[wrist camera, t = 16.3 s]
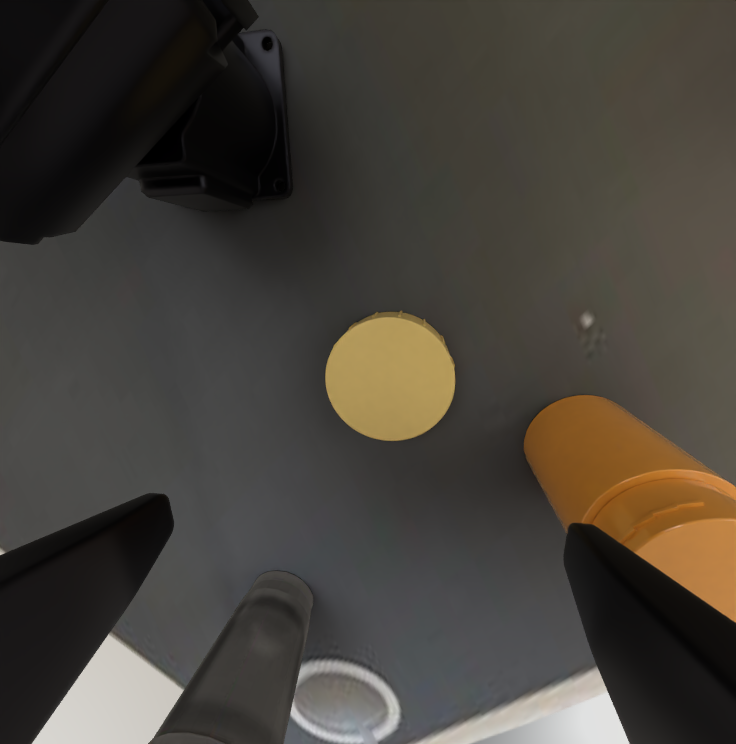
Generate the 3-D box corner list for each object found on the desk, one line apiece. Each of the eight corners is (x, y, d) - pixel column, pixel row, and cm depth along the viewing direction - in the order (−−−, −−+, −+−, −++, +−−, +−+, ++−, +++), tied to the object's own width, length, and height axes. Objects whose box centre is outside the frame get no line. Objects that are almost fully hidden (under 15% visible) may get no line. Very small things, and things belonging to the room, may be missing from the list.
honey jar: (528, 393, 18) (623, 503, 10) (646, 395, 18) (857, 517, 9) (518, 485, 20) (592, 647, 12) (625, 491, 19) (789, 670, 11)
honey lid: (425, 439, 20) (426, 459, 18) (321, 400, 20) (310, 415, 18) (471, 335, 18) (478, 344, 16) (355, 293, 18) (346, 297, 16)
